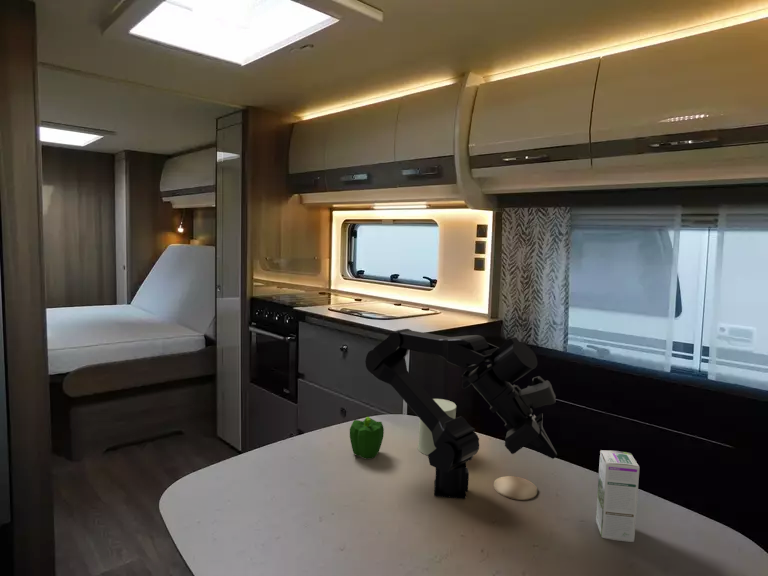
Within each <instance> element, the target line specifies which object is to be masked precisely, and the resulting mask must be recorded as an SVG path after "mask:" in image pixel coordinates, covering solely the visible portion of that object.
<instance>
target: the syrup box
mask: <svg viewBox="0 0 768 576" xmlns="http://www.w3.org/2000/svg"><path fill="white" fill-rule="evenodd" d="M599 454H600V455H599V461H598V462H599V463H598V464H599V466H598V478H597V481H598V482H597V496H596V507H595V511H596V512H595V523H596V526H597V529H598V530H599V534H600V536H601V538H603V539H607V540H614V541H618V542H619V541H620V542H627V543H628V542H629V543H634V542H635V534H636V523H637V511H638V496H639V495H638V494H639V481H640V480H639V478H640V465H639V464H638V463H637V460H636V459H635V458H634V456H633V454H632V453H631V452H627V451H619V450H602V449H600V451H599Z"/></svg>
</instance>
